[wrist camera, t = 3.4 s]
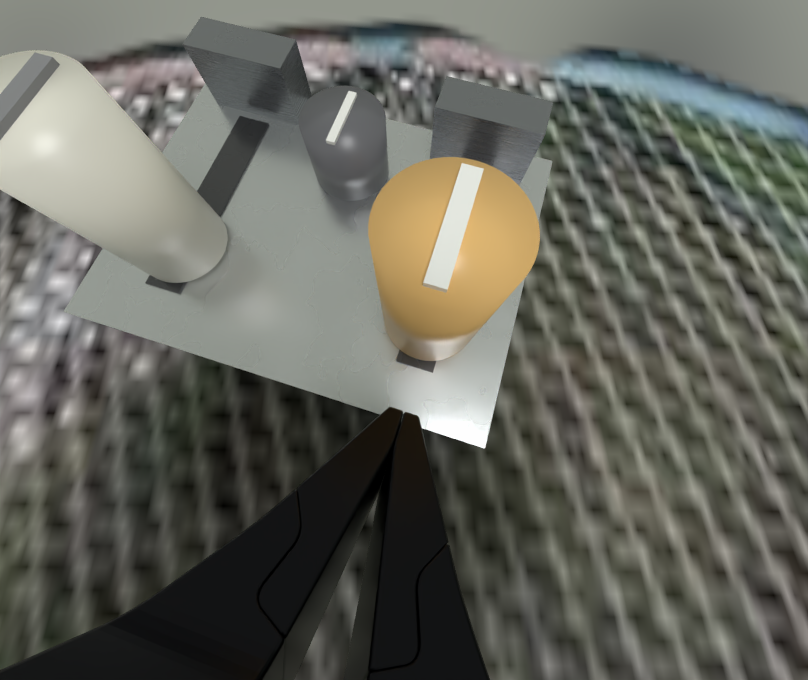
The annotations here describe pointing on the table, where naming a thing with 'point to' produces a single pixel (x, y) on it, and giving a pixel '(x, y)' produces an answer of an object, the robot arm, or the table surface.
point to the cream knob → (99, 170)
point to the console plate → (314, 240)
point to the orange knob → (448, 251)
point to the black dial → (346, 141)
